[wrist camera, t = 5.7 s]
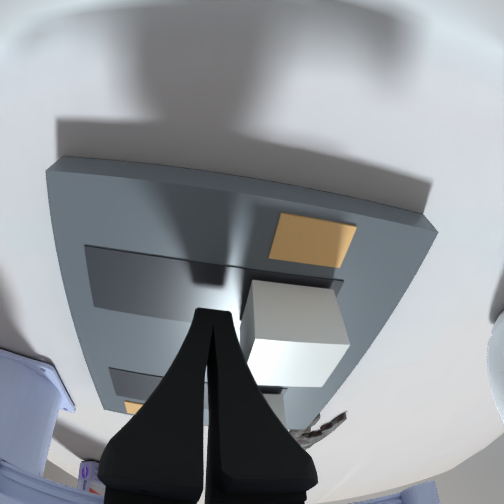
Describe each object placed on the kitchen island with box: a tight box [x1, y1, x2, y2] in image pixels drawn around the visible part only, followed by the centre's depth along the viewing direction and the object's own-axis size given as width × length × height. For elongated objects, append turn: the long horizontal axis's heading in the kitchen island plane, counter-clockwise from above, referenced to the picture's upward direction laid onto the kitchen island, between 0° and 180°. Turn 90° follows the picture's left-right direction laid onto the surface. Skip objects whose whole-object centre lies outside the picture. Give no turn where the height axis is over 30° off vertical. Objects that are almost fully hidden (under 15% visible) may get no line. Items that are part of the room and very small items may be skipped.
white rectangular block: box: [240, 280, 350, 387], centre depth 13 cm, size 4×3×3 cm
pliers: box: [289, 413, 347, 450], centre depth 30 cm, size 10×1×20 cm
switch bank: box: [46, 156, 438, 429], centre depth 17 cm, size 16×19×2 cm
